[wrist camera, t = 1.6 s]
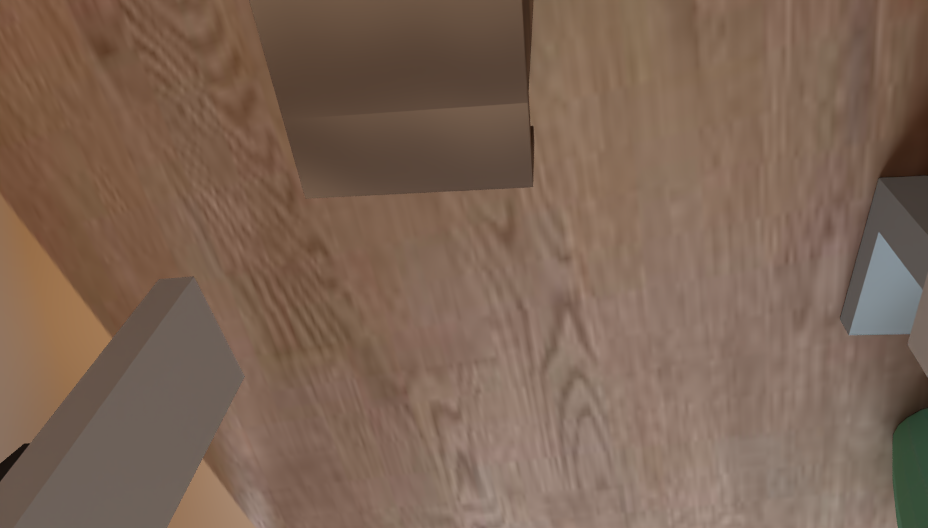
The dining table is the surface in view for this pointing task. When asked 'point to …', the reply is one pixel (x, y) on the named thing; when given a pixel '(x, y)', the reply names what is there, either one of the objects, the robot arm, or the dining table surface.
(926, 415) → the mug
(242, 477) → the dining table surface
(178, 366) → the robot arm
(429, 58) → the brown block
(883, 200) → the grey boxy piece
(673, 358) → the dining table surface
